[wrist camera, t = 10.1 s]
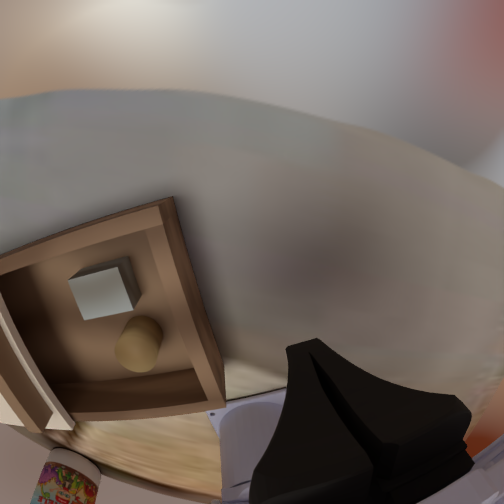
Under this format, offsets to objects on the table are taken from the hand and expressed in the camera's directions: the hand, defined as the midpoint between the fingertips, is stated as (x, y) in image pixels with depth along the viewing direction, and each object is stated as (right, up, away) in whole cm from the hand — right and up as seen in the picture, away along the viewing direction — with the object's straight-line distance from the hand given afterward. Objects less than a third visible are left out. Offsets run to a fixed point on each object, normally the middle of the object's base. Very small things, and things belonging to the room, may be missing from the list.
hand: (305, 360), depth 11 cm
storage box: (-16, -1, +9) cm, 18 cm away
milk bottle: (-26, -24, +15) cm, 38 cm away
